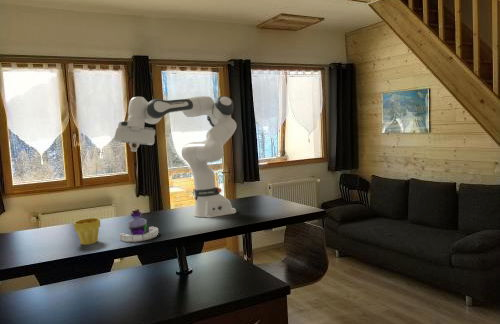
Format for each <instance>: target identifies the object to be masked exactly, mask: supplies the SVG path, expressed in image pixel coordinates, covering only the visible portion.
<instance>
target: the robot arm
mask: <svg viewBox="0 0 500 324" xmlns="http://www.w3.org/2000/svg"><path fill="white" fill-rule="evenodd" d="M233 101H234V100H232V99H231V98H230V97H229V96H226V95H221V96H218V98H216V100H215V101H214V99H213V98H212V97H211V96H206V95H204V96H201V95H200V96H195V97H194V96H193V97H188V98H181V99H179V98H178V99H171V100H164V99H161V98H154V99H151V100H150V101H147V99H146V98H145V97H143V96H134V97H132V98H131V99H130V100H129V104H128V110H127V114H128V116H127V120H124V121H123V120H122V121H119V122H118V124H117V128H116V129H115V133H114V142H116V143H127V144H128V145H129V147H130V152H137V151H138V148H139V147H140V145H147V146H153V145H154V144H155V140H156V139H155V136H156V129H155V128H154V127H148V126H147V127H146V126H145V124H148V125H156V124H158V123H159V122H160V121H161V120H162V118H163V117H165V116H166V115H168V114H170V113H177V112H182V113H183V114H184V116H185V117H187V118H194V117H201V116H206V119H207V121H208V122H209V125H210V126H211V128H210V130H208V131H207V132H206V136H205V138H206V139H205V140H203V141H192V142H188V143H186V144H184V145H183V146H182V149H181V156H182V158H183V160H185V162H186V163H187V164H188V165H189V168H190V170H191V172H192V176H193V183H194V189H193V190H194V191H193V195H194V199H195V205H194V214H193V216H194V217H198V218H209V219H210V218H215V217H222V216H227V215H232V214H236V213H237V210H236V208H234V207H232V203H231V201H230V200H229V199H228V198H227V197H225V196H224V195H222V194H221V192H222V189H221V188H219V187H217V186H216V177H215V176H216V175H215V172H214V170H212V169H211V168H210V166H208V163H214V162H217V161H220V160H221V159H222V158H223V156H224V151H225V150H224V145H225V144H226V143H227V142H228V141H229V140H230V139H231V138H232V137H233V135H234V133H235V131H236V129H237V126H238V125H237V122H236V121H235V120H234V119H233V118H232V114H233V113H234V102H233ZM133 144H134V145H135V144H136V146H135V147H134V146H133Z"/></svg>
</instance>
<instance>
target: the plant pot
mask: <svg viewBox="0 0 500 324" xmlns="http://www.w3.org/2000/svg"><path fill="white" fill-rule="evenodd" d="M73 226H74V231H76V232H77V236H78V238H79V240H80V244H81V245H83V246H86V245H87V246H88V245H92V244H95V243H97V242H98V239H99V233H100V232H99V231H100V229H99V228H100V227H101V219H100V218H98V217H90V218H83V219H79V220H75V221H74V222H73Z"/></svg>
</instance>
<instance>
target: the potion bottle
mask: <svg viewBox="0 0 500 324" xmlns="http://www.w3.org/2000/svg"><path fill="white" fill-rule="evenodd" d="M141 216H142V211H140V208H137V209H132V212H131V213H130V217H132V218H131V219H130V220H128V221H127V222H126V224H127V227H128V229H129V231H130V235H137V234H144V233H146V232H145V231H146V230H147V219H145V218H142V217H141Z"/></svg>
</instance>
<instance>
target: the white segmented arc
mask: <svg viewBox="0 0 500 324" xmlns="http://www.w3.org/2000/svg"><path fill="white" fill-rule="evenodd" d="M158 233H159V227H156V226H149V227H148V232H145V233H144V234H137V235H131V234H127V233H124V232H123V233H119V235H118V236H119V240H120V241H121V242H124V243H125V242H127V243H129V242H130V243H135V242H143V241H147V240H152V239H154V238H156V237H158V236H159V234H158ZM157 235H158V236H157Z"/></svg>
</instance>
